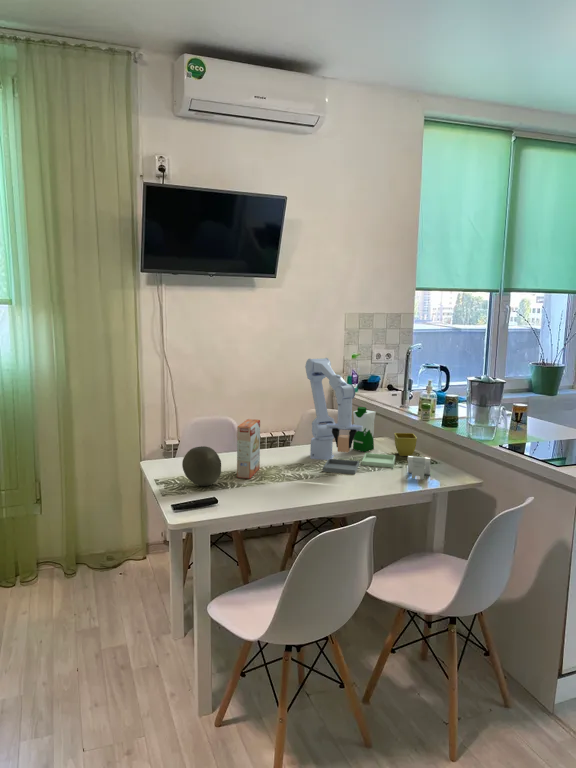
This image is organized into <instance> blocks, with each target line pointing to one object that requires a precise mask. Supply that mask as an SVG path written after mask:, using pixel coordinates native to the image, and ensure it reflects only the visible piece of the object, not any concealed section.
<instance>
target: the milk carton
mask: <svg viewBox="0 0 576 768" xmlns="http://www.w3.org/2000/svg"><path fill="white" fill-rule="evenodd" d="M376 414H377V411H376V410H375V411H373V410H368V409H367V407H365V406H358V407H357V410H354V411H352V416H353V425H360V426H363V428H362V431H357V432H356V434H355V436H354V438H353V441H352V450H354V449H355V450H354V451H358V450H360V451H359V452H362V451H364V452H363V453H367V452H369V450H370V451H373V450H375V444H374V438H375V437H374V436H375V433H374V432H375V418H376ZM366 451H367V452H366Z"/></svg>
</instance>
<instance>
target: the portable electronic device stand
mask: <svg viewBox="0 0 576 768" xmlns="http://www.w3.org/2000/svg"><path fill="white" fill-rule="evenodd" d="M407 473H408V474H411V479H413V478H414V479H413V480H416V477H417V476H418V477H419V479H420V480H424V479H425V475H426V476H427V475H429V476H431V457H422V456H412V455H411V456H407Z"/></svg>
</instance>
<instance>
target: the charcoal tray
mask: <svg viewBox="0 0 576 768" xmlns="http://www.w3.org/2000/svg"><path fill="white" fill-rule="evenodd" d="M359 466H360V460H350V459H349V460H348V459H340V458H339V459H337V458H332V459H328V460H326V462H325V464H324V465H323V467H322V472H326V473H327V472H328V473H334V474H335V473H336V474H346V475H347V474H349V475H355V474H356V473H357V471H358V469H359Z"/></svg>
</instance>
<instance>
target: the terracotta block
mask: <svg viewBox="0 0 576 768" xmlns="http://www.w3.org/2000/svg"><path fill="white" fill-rule="evenodd" d="M350 451H351V448H349V435H347V434H339V436H338V447H337V453H349V452H350Z"/></svg>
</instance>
